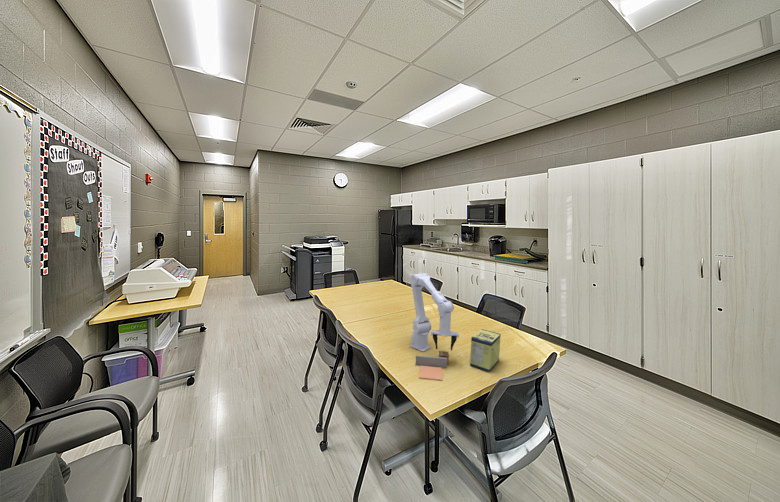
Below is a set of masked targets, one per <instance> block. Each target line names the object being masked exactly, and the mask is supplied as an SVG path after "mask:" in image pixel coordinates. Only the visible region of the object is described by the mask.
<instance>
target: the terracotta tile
mask: <svg viewBox="0 0 780 502" xmlns="http://www.w3.org/2000/svg"><path fill="white" fill-rule="evenodd" d="M418 376H419V377H418V379H422V380H431V381H441V382H443V368H441V367H430V366H419V375H418Z"/></svg>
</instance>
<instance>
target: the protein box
mask: <svg viewBox="0 0 780 502" xmlns="http://www.w3.org/2000/svg"><path fill="white" fill-rule="evenodd" d="M501 335H502V334H501V333H499V332H494V331H492V330H491V331H490V330H487V329H483V328H482V329H480V330H479V331H478V332H477V333H475V334H474V335H473V336H471V340H470V343H471V344H470V356H469V357H470V358H469V366H470V367H473V368H476V369H478V370H482V371H484V372H487V373H490V372H491V371H492V370H493V369H494V368H495V366H496V365H497V364H498V363H499V362H500V350H501V349H500V348H501Z"/></svg>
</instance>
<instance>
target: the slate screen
mask: <svg viewBox="0 0 780 502" xmlns="http://www.w3.org/2000/svg"><path fill="white" fill-rule="evenodd" d="M415 366H419V367H420V366H430V367H441V368H442V369H447V368H448V365H447V358H443V357H439V356H430V355H418V354H416V355H415Z"/></svg>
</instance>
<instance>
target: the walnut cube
mask: <svg viewBox="0 0 780 502" xmlns="http://www.w3.org/2000/svg"><path fill="white" fill-rule="evenodd" d="M438 357H443V358H447V366H449V359H450V358H449V357H450V355H449V351H446V350H445V351H443V350H438Z"/></svg>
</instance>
